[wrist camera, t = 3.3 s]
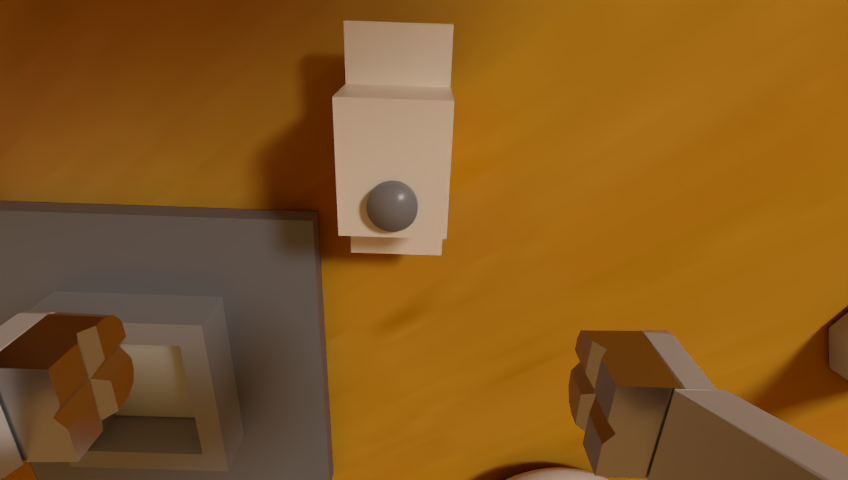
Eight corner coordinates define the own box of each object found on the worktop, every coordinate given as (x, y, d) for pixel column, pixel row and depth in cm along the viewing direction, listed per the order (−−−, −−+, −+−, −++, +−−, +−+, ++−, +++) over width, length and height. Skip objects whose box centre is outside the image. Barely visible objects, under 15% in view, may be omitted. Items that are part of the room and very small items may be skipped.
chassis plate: (-54, 198, 24) (-131, 229, 21) (317, 211, 24) (300, 244, 21) (50, 464, 32) (6, 518, 29) (333, 472, 32) (322, 527, 29)
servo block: (354, 18, 21) (326, 23, 15) (450, 21, 21) (459, 28, 15) (359, 225, 25) (338, 292, 19) (439, 227, 25) (443, 295, 19)
